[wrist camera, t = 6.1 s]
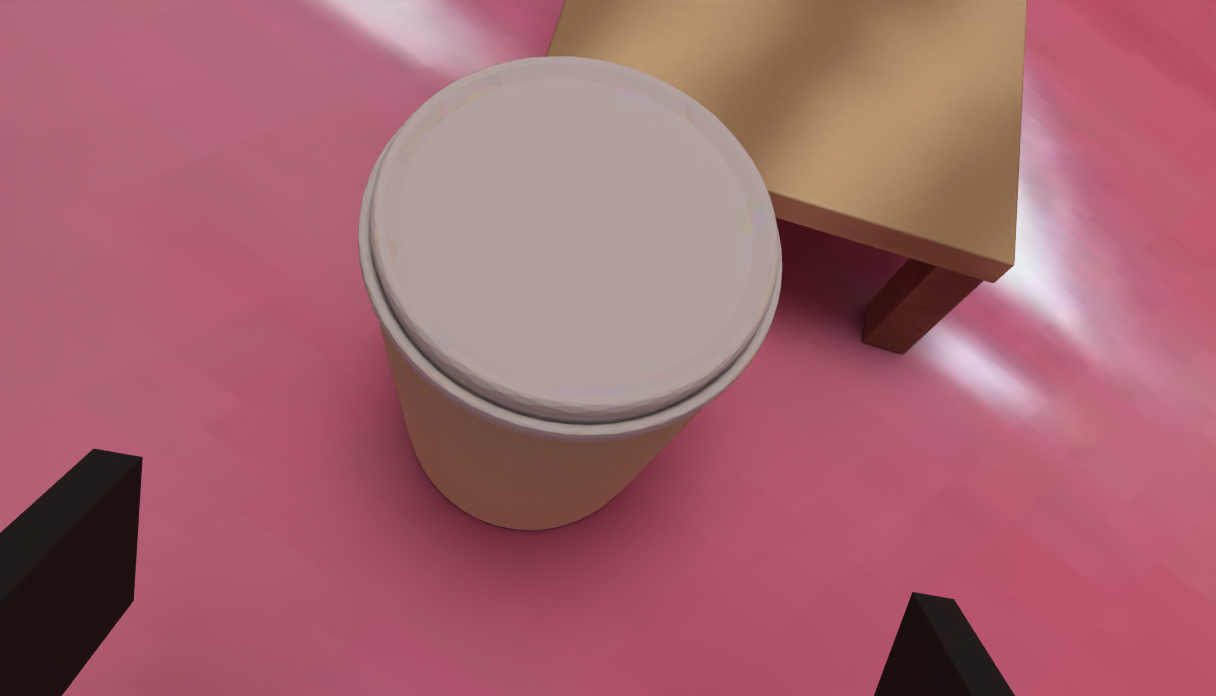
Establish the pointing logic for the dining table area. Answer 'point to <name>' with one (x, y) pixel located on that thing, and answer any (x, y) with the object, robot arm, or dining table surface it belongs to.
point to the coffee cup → (562, 279)
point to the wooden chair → (853, 122)
